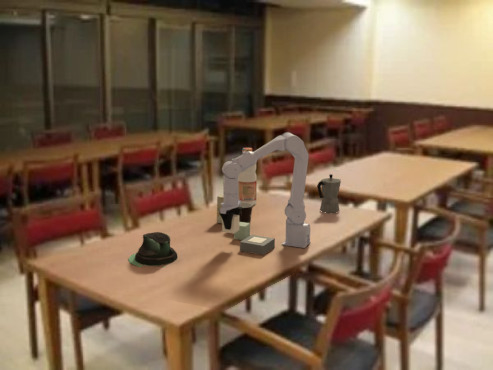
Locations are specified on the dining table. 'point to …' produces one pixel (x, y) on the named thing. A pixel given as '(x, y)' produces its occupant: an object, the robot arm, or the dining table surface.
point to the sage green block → (242, 231)
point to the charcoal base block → (257, 244)
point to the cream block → (232, 225)
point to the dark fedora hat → (154, 251)
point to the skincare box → (219, 201)
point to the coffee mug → (245, 212)
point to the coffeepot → (329, 194)
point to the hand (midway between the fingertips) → (230, 227)
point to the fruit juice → (247, 184)
